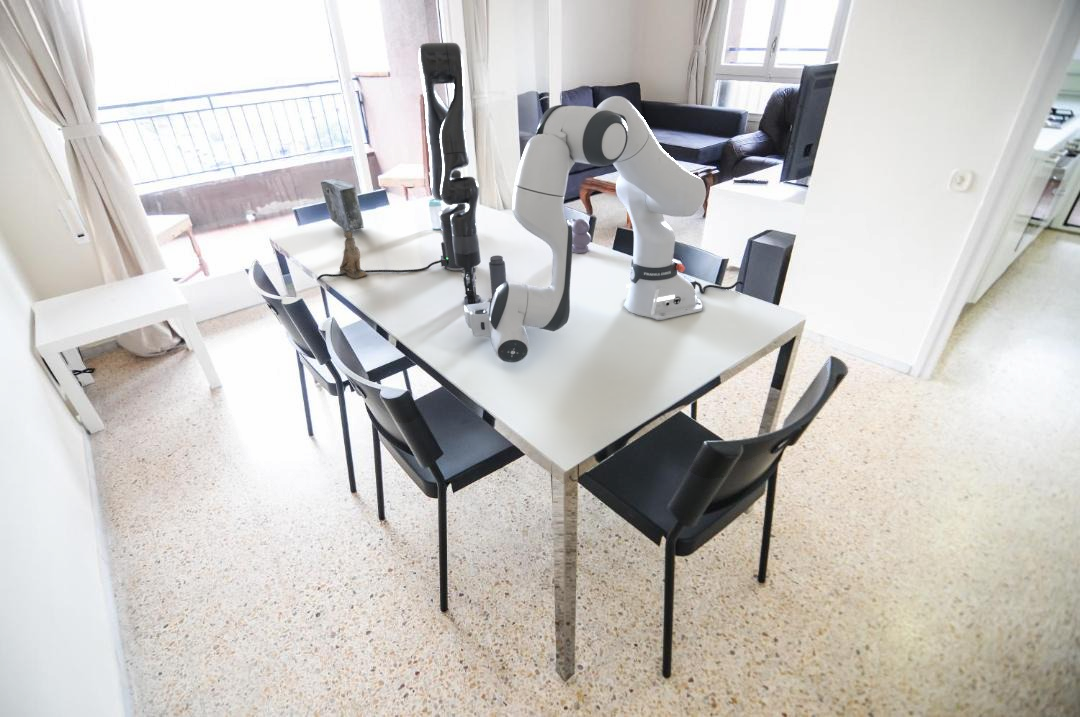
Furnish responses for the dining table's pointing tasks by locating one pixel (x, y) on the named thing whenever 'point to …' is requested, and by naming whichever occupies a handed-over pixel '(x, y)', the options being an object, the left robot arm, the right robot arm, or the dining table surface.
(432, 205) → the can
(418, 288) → the dining table surface
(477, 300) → the lid
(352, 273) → the worn brown figurine
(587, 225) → the cat figurine
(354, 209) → the concrete block
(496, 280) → the grey cylinder
